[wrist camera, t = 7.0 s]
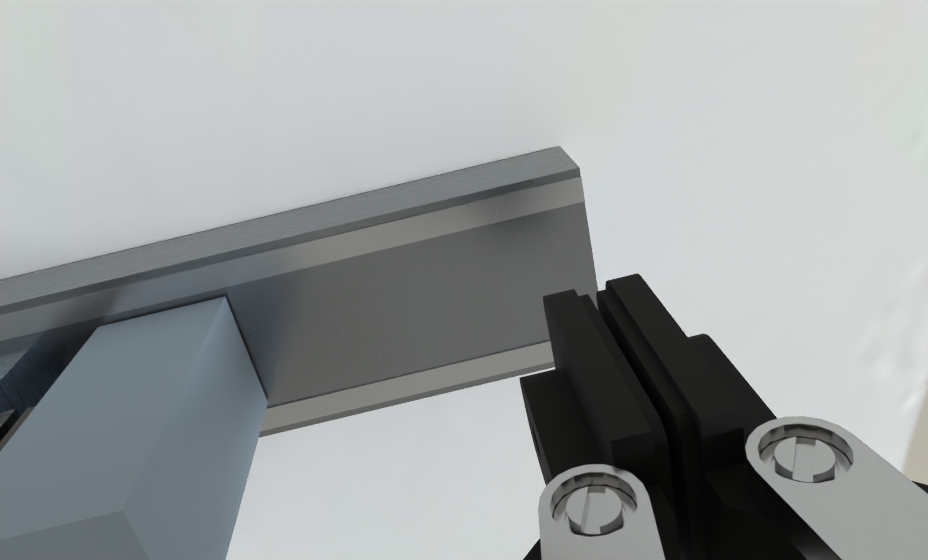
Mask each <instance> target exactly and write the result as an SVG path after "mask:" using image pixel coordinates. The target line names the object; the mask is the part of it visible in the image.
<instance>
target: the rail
mask: <svg viewBox="0 0 928 560" xmlns="http://www.w3.org/2000/svg"><path fill="white" fill-rule="evenodd" d="M584 201H585V199H584V192H583V186H582V179H581V176H580V169H579V167H578V166H577V164H576V163H575V162H574V161H573V160H572V159H571V158H570V157H569V156H568V155H567V153H566V152H565V151H564V150H563V149H562V148H561V147H560V146H559V147H554V148H550V149H546V150H542V151H538V152H533V153H529V154H525V155H521V156H517V157H513V158H508V159H504V160H500V161H496V162H492V163H488V164H483V165H479V166H475V167H471V168H467V169H462V170H458V171H454V172H450V173H446V174H442V175H437V176H433V177H429V178H425V179H421V180H416V181H412V182H408V183H404V184H400V185H396V186H391V187H387V188H383V189H379V190H375V191H371V192H366V193H362V194H358V195H354V196H350V197H345V198H341V199H337V200H333V201H329V202H325V203H320V204H316V205H312V206H308V207H304V208H299V209H295V210H291V211H287V212H283V213H279V214H274V215H270V216H266V217H262V218H258V219H254V220H249V221H245V222H241V223H237V224H233V225H228V226H224V227H220V228H216V229H212V230H208V231H203V232H199V233H195V234H191V235H187V236H182V237H178V238H174V239H170V240H166V241H162V242H157V243H153V244H149V245H145V246H141V247H137V248H132V249H128V250H124V251H120V252H116V253H111V254H107V255H103V256H99V257H95V258H91V259H86V260H82V261H78V262H74V263H70V264H65V265H61V266H57V267H53V268H49V269H45V270H40V271H36V272H32V273H28V274H24V275H20V276H15V277H11V278H7V279H3V280H0V442H1V440H2V439H3V438H4V437H5V435H6V434H7V433H8V432H9V430H10V429H11V428H12V427H13V425H14V424H15V423H16V422H17V420H18V419H19V418H20V417H21V415H22V414H23V413H24V412H25V410H26V409H27V408H30V407H35V406H37V404H38V403H39V402H40V400H41V399H42V398H43V397H44V395H45V394H46V393H47V392H48V390H49V389H50V388H51V386H52V385H53V384H54V383H55V381H56V380H57V379H58V377H59V376H60V375H61V374H62V372H63V371H64V370H65V369H66V367H67V366H68V365H69V363H70V362H71V361H72V360H73V358H74V357H75V356H76V355H77V353H78V352H79V351H80V349H81V348H82V347H83V346H84V344H85V343H86V342H87V340H88V339H89V338H90V337H91V335H92V334H93V333H94V332H95V330H96V329H97V328H98V327H100V326H104V325H108V324H112V323H117V322H121V321H125V320H129V319H133V318H137V317H142V316H146V315H150V314H154V313H158V312H163V311H167V310H171V309H175V308H179V307H183V306H188V305H192V304H196V303H200V302H204V301H209V300H213V299H217V298H221V297H226V300H227V302H228V305H229V307H230V310H231V312H232V315H233V317H234V320H235V322H236V325H237V327H238V330H239V332H240V335H241V337H242V340H243V342H244V345H245V347H246V350H247V352H248V355H249V357H250V359H251V362H252V364H253V367H254V369H255V372H256V374H257V377H258V379H259V382H260V384H261V387H262V389H263V392H264V394H265V397H266V399H267V402H268V404H267V408H266V411H265V415H264V419H263V422H262V426H261V430H260V433H259V437H263V436H267V435H271V434H276V433H280V432H284V431H288V430H292V429H297V428H301V427H305V426H309V425H313V424H318V423H322V422H326V421H330V420H334V419H339V418H343V417H347V416H351V415H355V414H360V413H364V412H368V411H372V410H376V409H380V408H385V407H389V406H393V405H397V404H401V403H406V402H410V401H414V400H418V399H422V398H427V397H431V396H435V395H439V394H443V393H448V392H452V391H456V390H460V389H464V388H469V387H473V386H477V385H481V384H485V383H489V382H494V381H498V380H502V379H506V378H510V377H515V376H519V375H523V374H527V373H531V372H536V371H540V370H544V369H548V368H552V367H555V363H554V358H553V353H552V347H551V342H550V337H549V331H548V326H547V320H546V315H545V310H544V304H543V296H546V295H550V294H554V293H558V292H563V291H567V290H571V289H575V291H576V293H577V294H578V296H581V295H585V294H588V295H589V296H590V298H591V299H592V301H593V303H594V305H595V306H596V308H597V310H598V306H597V299H596V293H597V292H598V287H597V281H596V274H595V268H594V261H593V254H592V248H591V241H590V235H589V228H588V222H587V215H586V208H585V202H584ZM259 437H258V438H259Z"/></svg>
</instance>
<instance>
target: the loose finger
mask: <svg viewBox="0 0 928 560" xmlns="http://www.w3.org/2000/svg"><path fill="white" fill-rule="evenodd" d="M267 404H268V402H267V399H266V397H265V394H264V392H263V389H262V387H261V384H260V382H259V379H258V377H257V374H256V372H255V369H254V367H253V364H252V362H251V359H250V357H249V355H248V352H247V350H246V347H245V345H244V342H243V340H242V337H241V335H240V332H239V330H238V327H237V325H236V322H235V320H234V317H233V315H232V312H231V310H230V307H229V305H228V302H227V300H226V297H221V298H217V299H213V300H209V301H204V302H200V303H196V304H192V305H188V306H183V307H179V308H175V309H171V310H167V311H163V312H158V313H154V314H150V315H146V316H142V317H137V318H133V319H129V320H125V321H121V322H117V323H112V324H108V325H104V326H100V327H98V328H97V329H96V330H95V332H94V333H93V334H92V335H91V337H90V338H89V339H88V340H87V342H86V343H85V344H84V346H83V347H82V348H81V349H80V351H79V352H78V353H77V355H76V356H75V357H74V358H73V360H72V361H71V362H70V363H69V365H68V366H67V367H66V369H65V370H64V371H63V372H62V374H61V375H60V376H59V377H58V379H57V380H56V381H55V383H54V384H53V385H52V386H51V388H50V389H49V390H48V392H47V393H46V394H45V395H44V397H43V398H42V399H41V400H40V402H39V403H38V404H37V406H35V407H30V408H27V409H26V410H25V412H24V413H23V414H22V415H21V417H20V418H19V419H18V420H17V422H16V423H15V424H14V425H13V427H12V428H11V429H10V430H9V432H8V433H7V434H6V435H5V437H4V438H3V439H2V440H1V442H0V560H225V559H226V556H227V552H228V548H229V544H230V541H231V537H232V533H233V530H234V526H235V522H236V519H237V515H238V511H239V507H240V504H241V500H242V496H243V493H244V489H245V485H246V482H247V478H248V474H249V470H250V467H251V463H252V459H253V456H254V452H255V448H256V445H257V441H258V437H259V433H260V430H261V426H262V422H263V419H264V415H265V411H266V408H267Z"/></svg>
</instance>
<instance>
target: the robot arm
mask: <svg viewBox="0 0 928 560" xmlns="http://www.w3.org/2000/svg"><path fill="white" fill-rule="evenodd" d="M596 299H597V306H598V310H597V308H596V306H595V305H594V303H593V301H592V299H591V298H590V296H589V295H588V294H585V295H581V296H578V294H577V293H576V291H575V289H571V290H567V291H563V292H558V293H554V294H550V295H546V296H543V304H544V310H545V315H546V320H547V326H548V331H549V337H550V342H551V347H552V353H553V358H554V363H555V369H554V370H550V371H546V372H542V373H538V374H534V375H530V376H525V377H521V378H520V384H521V389H522V394H523V399H524V403H525V408H526V413H527V417H528V422H529V426H530V430H531V434H532V438H533V442H534V446H535V450H536V453H537V457H538V460H539V464H540V467H541V471H542V474H543V477H544V481H545V484H546V487H545V489H544V491H543V493H542V494H541V496H540V501H539V508H538V513H539V527H540V539H539V540H538V541H537V543H536V544H535V545H534V546H533V548H532V549H531V550H530V552H529V553H528V554H527V555H526V557H525V558H524V559H523V560H928V485H925V484H921V483H918V482H914V481H911V480H910V479H908V478H907V477H906V476H905V475H903V474H902V473H901V472H900V471H898V470H897V469H896V468H895V467H893V466H892V465H891V464H890V463H888V462H887V461H886V460H885V459H883V458H882V457H881V456H880V455H878V454H877V453H876V452H875V451H873V450H872V449H871V448H870V447H868V446H867V445H866V444H865V443H863V442H862V441H861V440H860V439H858V438H857V437H856V436H855V435H853V434H852V433H850V432H849V431H847V430H845V429H844V428H842V427H841V426H839V425H836V424H834V423H831V422H828V421H825V420H822V419H817V418H811V417H804V416H799V417H783V418H779V419H777V418H776V416H775V415H774V414H773V413H772V411H771V410H770V409H769V408H768V407H767V405H766V404H765V403H764V402H763V401H762V399H761V398H760V397H759V396H758V394H757V393H756V392H755V391H754V390H753V388H752V387H751V386H750V385H749V383H748V382H747V381H746V380H745V379H744V377H743V376H742V375H741V374H740V372H739V371H738V370H737V369H736V368H735V366H734V365H733V364H732V363H731V362H730V360H729V359H728V358H727V357H726V355H725V354H724V353H723V352H722V351H721V349H720V348H719V347H718V346H717V344H716V343H715V342H714V341H713V340H712V339H711V338H710V337H709V336H708V335H707V334H700V335H696V336H692V337H687V336H686V334H685V333H684V332H683V331H682V329H681V328H680V327H679V325H678V324H677V323H676V321H675V320H674V319H673V317H672V316H671V315H670V314H669V312H668V311H667V310H666V308H665V307H664V306H663V304H662V303H661V302H660V300H659V299H658V298H657V297H656V295H655V294H654V293H653V291H652V290H651V289H650V287H649V286H648V285H647V283H646V282H645V281H644V280H643V278H642V277H641V276H640V275H639V274H633V275H629V276H625V277H621V278H617V279H612V280H608V281H606V290H602V291H598V292H597V293H596Z"/></svg>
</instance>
